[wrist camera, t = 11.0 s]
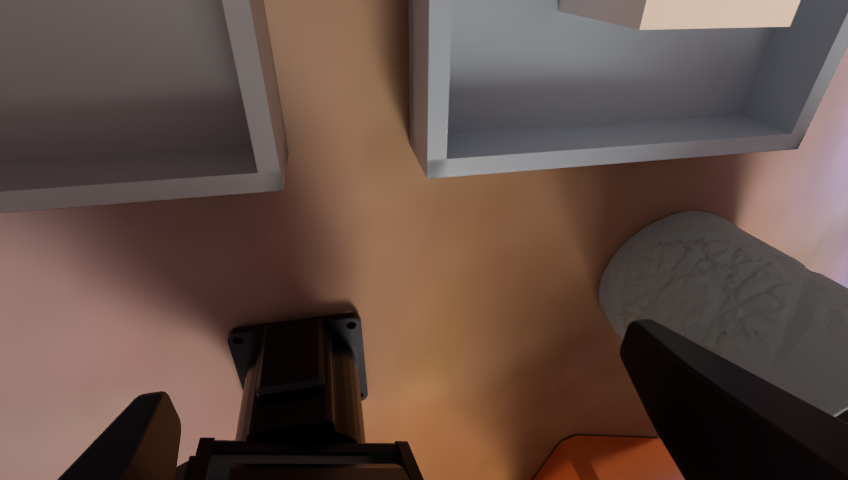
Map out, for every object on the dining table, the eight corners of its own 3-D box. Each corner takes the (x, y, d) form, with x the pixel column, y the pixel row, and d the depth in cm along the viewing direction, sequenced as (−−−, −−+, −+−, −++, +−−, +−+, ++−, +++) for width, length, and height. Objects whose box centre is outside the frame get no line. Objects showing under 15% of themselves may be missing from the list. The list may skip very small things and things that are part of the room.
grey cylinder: (720, 312, 30) (923, 491, 20) (577, 353, 29) (715, 561, 19) (760, 176, 24) (1073, 333, 14) (583, 222, 23) (784, 422, 13)
